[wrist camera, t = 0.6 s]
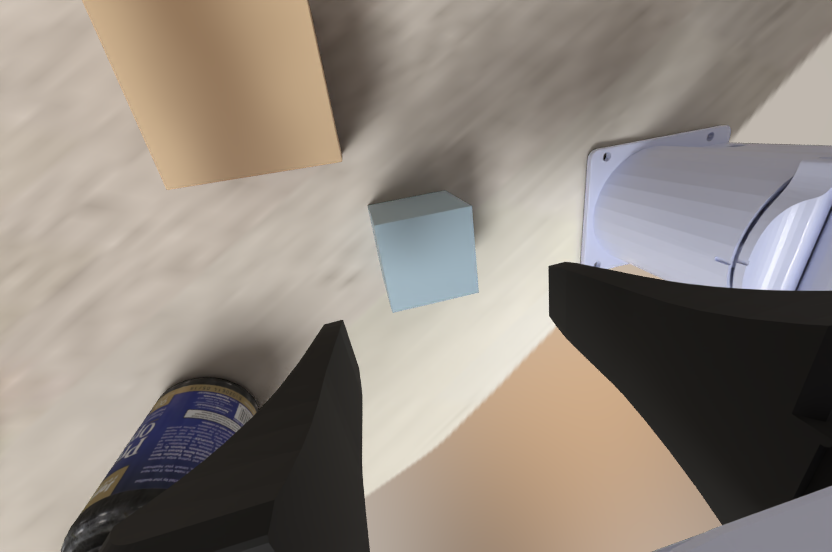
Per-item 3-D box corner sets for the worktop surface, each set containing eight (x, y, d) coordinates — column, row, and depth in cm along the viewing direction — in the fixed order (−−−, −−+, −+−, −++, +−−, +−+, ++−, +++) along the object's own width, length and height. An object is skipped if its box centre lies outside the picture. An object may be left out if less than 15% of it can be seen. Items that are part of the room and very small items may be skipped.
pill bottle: (163, 366, 20) (-17, 600, 10) (270, 382, 22) (209, 592, 12) (152, 441, 22) (-8, 701, 12) (252, 449, 24) (185, 680, 14)
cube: (444, 189, 19) (472, 205, 15) (452, 261, 21) (478, 292, 17) (367, 205, 19) (374, 225, 15) (382, 276, 20) (392, 312, 16)
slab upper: (305, -15, 12) (294, -55, 10) (342, 156, 15) (342, 161, 12) (130, 2, 12) (64, -38, 9) (200, 178, 14) (166, 190, 11)
